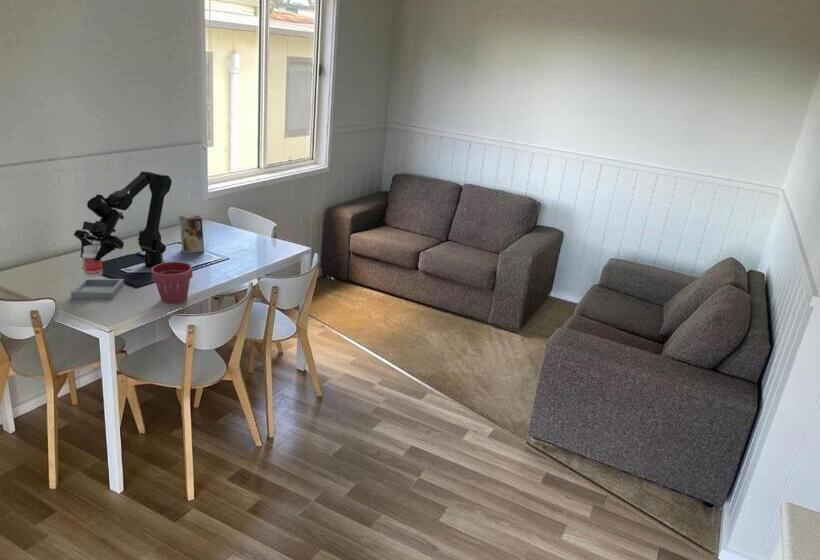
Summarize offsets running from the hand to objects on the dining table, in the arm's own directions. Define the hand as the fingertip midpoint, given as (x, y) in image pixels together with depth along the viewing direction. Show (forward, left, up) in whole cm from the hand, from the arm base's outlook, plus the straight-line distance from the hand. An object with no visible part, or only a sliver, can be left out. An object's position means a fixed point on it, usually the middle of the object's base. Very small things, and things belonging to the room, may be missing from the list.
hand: (88, 259), depth 231 cm
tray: (-2, 0, -13) cm, 13 cm away
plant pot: (-31, +7, -13) cm, 34 cm away
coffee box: (-27, -51, -13) cm, 60 cm away
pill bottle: (-1, -1, -7) cm, 7 cm away
